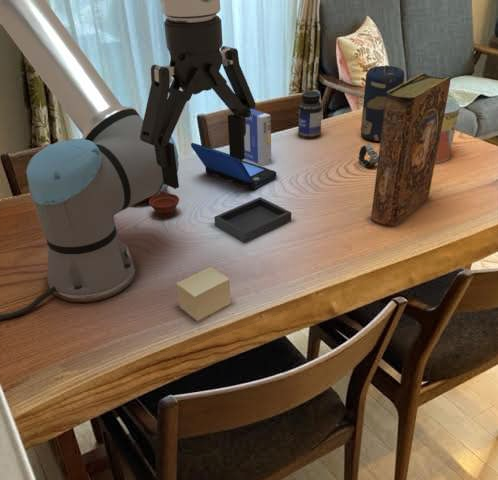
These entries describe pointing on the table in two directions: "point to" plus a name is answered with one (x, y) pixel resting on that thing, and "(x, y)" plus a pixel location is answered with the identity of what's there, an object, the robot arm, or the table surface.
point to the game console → (232, 168)
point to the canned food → (447, 131)
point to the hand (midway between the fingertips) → (205, 171)
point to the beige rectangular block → (204, 293)
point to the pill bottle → (310, 115)
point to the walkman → (258, 137)
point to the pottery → (163, 203)
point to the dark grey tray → (252, 219)
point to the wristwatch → (371, 153)
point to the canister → (378, 98)
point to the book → (408, 147)
